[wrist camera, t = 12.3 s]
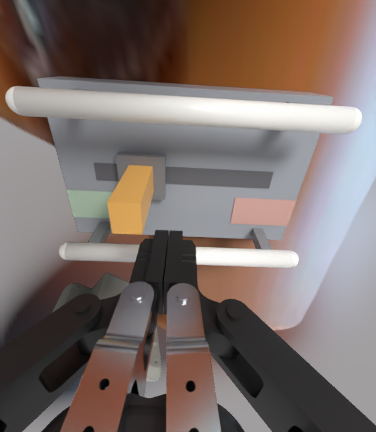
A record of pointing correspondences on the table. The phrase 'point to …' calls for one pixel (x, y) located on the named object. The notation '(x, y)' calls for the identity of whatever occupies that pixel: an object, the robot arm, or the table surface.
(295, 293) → the table surface
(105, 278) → the digital clock
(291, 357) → the robot arm
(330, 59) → the table surface
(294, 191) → the breaker panel
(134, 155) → the breaker toggle
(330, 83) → the table surface
